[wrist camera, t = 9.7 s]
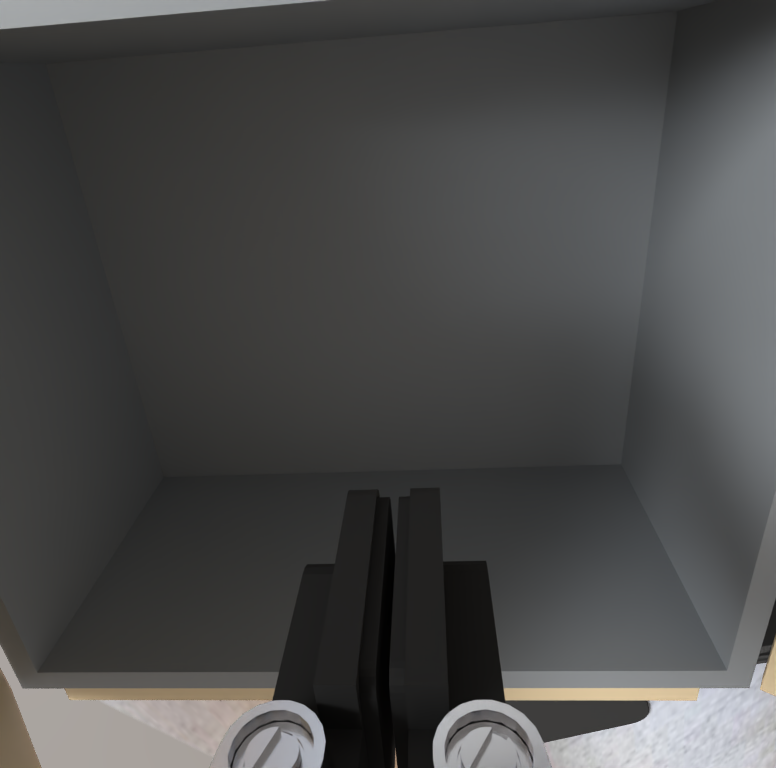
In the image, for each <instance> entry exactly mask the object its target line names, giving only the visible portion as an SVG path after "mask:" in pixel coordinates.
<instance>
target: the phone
mask: <svg viewBox="0 0 776 768" xmlns="http://www.w3.org/2000/svg"><path fill="white" fill-rule="evenodd" d="M505 703H506V704H508V705H510V706H512V707H513V708H515V709H517V710H518V711H520V712H521V713H523V714H524V715H525V716H526V717H527V718H528V719H529V720H530V721H531V722H532V723H533V725H534V726H535V727H536V729H537V731H538V733H539V734H540V736H541V738H542V740H543V742H544V743H545V742H549V741H554V740H558V739H563V738H568V737H572V736H577V735H581V734H586V733H591V732H595V731H600V730H605V729H609V728H614V727H618V726H623V725H627V724H632V723H635V722H638V721H641V720H642V719H644V718H645V717H646V716H647V715H648V713H649V706H648V703H647V700H505Z"/></svg>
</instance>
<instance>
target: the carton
mask: <svg viewBox="0 0 776 768" xmlns="http://www.w3.org/2000/svg"><path fill="white" fill-rule="evenodd" d="M439 487H440V504H441V527H442V550H443V561H486V563H487V568H488V575H489V582H490V590H491V597H492V605H493V612H494V620H495V627H496V635H497V642H498V650H499V657H500V665H501V672H502V680H503V687H504V695H505V700H677V701H697V697H698V693H699V688H749V687H750V683H751V680H752V676H753V673H754V670H755V666H756V663H757V660H758V656H759V653H760V650H761V646H762V643H763V639H764V636H765V633H766V629H767V626H768V623H769V619H770V616H771V613H772V609H773V606H774V602H775V599H776V0H0V645H1V647H2V649H3V650H4V653H5V655H6V657H7V659H8V660H9V662H10V664H11V666H12V668H13V670H14V672H15V674H16V676H17V678H18V680H19V682H20V684H21V686H22V688H64V689H65V691H66V693H67V695H68V697H69V699H70V700H272V699H273V695H274V691H275V687H276V683H277V678H278V674H279V670H280V666H281V662H282V658H283V653H284V649H285V645H286V641H287V637H288V633H289V629H290V624H291V620H292V616H293V612H294V608H295V604H296V600H297V595H298V591H299V587H300V583H301V579H302V575H303V572H304V568H305V567H306V565H307V564H335V560H336V555H337V549H338V544H339V538H340V532H341V527H342V521H343V516H344V510H345V505H346V499H347V494H348V491H349V490H372V489H378V490H379V494H380V497H390V499H391V509H392V520H393V531H394V543H395V554H396V538H397V520H398V503H399V497H406V496H410V489H411V488H439Z"/></svg>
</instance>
